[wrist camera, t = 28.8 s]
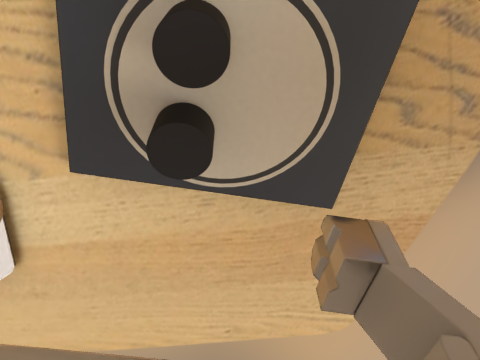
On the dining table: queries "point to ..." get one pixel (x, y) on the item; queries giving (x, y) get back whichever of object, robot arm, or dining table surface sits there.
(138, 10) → the board
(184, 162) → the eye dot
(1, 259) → the plate
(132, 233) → the dining table surface
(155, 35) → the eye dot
